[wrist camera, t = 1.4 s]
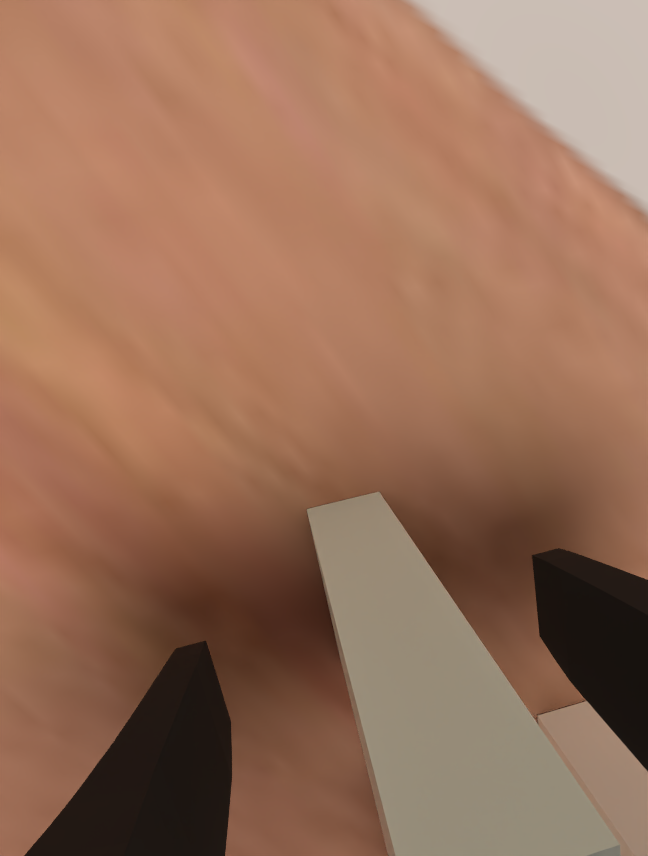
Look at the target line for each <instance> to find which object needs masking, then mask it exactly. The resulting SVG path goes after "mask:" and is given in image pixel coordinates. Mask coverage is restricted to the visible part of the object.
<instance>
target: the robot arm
mask: <svg viewBox="0 0 648 856" xmlns="http://www.w3.org/2000/svg"><path fill="white" fill-rule="evenodd" d="M532 559H533V570H534V580H535V591H536V601H537V612H538V623H539V633H540V637H541V639H542V640H543V642H544V643H545V645H546V646H547V648H548V649H549V651H550V652H551V654H552V656H553V657H554V659H555V660H556V662H557V663H558V664H559V666H560V667H561V669H562V670H563V672H564V673H565V674H566V676H567V677H568V679H569V680H570V681H571V683H572V684H573V685H574V686H575V687H576V689H577V690H578V691H579V692H580V693H581V695H582V696H583V697H584V698H585V699H586V700H587V702H588V703H589V704H590V705H591V706H592V708H593V709H594V710H595V711H596V712H597V713H598V715H599V716H600V717H601V718H602V719H603V720H604V722H605V723H606V724H607V725H608V726H609V727H610V728H611V730H612V731H613V732H614V733H615V734H616V735H617V737H618V738H619V739H620V740H621V741H622V742H623V744H624V745H625V746H626V747H627V748H628V749H629V750H630V752H631V753H632V754H633V755H634V756H635V757H636V759H637V760H638V761H639V762H640V763H641V764H642V766H643V767H644V768H645V769H646V770H647V771H648V580H647V579H644V578H641V577H638V576H636V575H633V574H630V573H628V572H625V571H622V570H619V569H617V568H614V567H611V566H609V565H606V564H603V563H601V562H598V561H595V560H592V559H590V558H587V557H584V556H581V555H578V554H576V553H572V552H569V551H566V550H563V549H559V548H558V549H555V550H551V551H547V552H543V553H539V554H535V555H532ZM231 782H232V745H231V720H230V717H229V714H228V711H227V707H226V704H225V701H224V698H223V694H222V691H221V688H220V685H219V681H218V678H217V675H216V672H215V669H214V665H213V662H212V659H211V656H210V652H209V649H208V646H207V643H206V641H203V642H199V643H196V644H192V645H188V646H184V647H180V648H176V649H175V651H174V652H173V654H172V655H171V657H170V658H169V659H168V661H167V662H166V664H165V665H164V667H163V669H162V670H161V672H160V673H159V675H158V676H157V678H156V679H155V681H154V682H153V684H152V685H151V687H150V689H149V690H148V692H147V693H146V695H145V696H144V698H143V699H142V701H141V702H140V704H139V705H138V707H137V708H136V710H135V711H134V713H133V714H132V716H131V717H130V719H129V720H128V722H127V723H126V725H125V726H124V727H123V729H122V730H121V732H120V733H119V735H118V736H117V738H116V739H115V741H114V742H113V744H112V745H111V746H110V748H109V749H108V750H107V752H106V753H105V754H104V756H103V757H102V759H101V760H100V761H99V763H98V764H97V765H96V767H95V768H94V769H93V771H92V772H91V773H90V775H89V776H88V778H87V779H86V780H85V782H84V783H83V784H82V786H81V787H80V788H79V790H78V791H77V792H76V794H75V795H74V796H73V798H72V799H71V800H70V801H69V803H68V804H67V805H66V806H65V808H64V809H63V810H62V811H61V813H60V814H59V815H58V816H57V818H56V819H55V820H54V821H53V823H52V824H51V825H50V826H49V827H48V829H47V830H46V831H45V832H44V833H43V834H42V836H41V837H40V838H39V839H38V840H37V841H36V843H35V844H34V845H33V846H32V847H31V849H30V850H29V851H28V852H27V853H26V854H25V856H225V849H226V839H227V828H228V817H229V805H230V794H231Z"/></svg>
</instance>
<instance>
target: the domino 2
mask: <svg viewBox="0 0 648 856" xmlns="http://www.w3.org/2000/svg"><path fill="white" fill-rule="evenodd" d="M537 719H538V725H539V727H540V728H541V730H542V731H543V733H544V734H545V735H546V737H547V738H548V740H549V741H550V743H551V744H552V746H553V747H554V749H555V750H556V752H557V753H558V755H559V756H560V757H561V759H562V760H563V762H564V763H565V765H566V766H567V768H568V769H569V771H570V772H571V774H572V775H573V776H574V778H575V779H576V781H577V782H578V784H579V785H580V787H581V788H582V790H583V791H584V793H585V794H586V796H587V797H588V798H589V800H590V801H591V803H592V804H593V806H594V807H595V809H596V810H597V812H598V813H599V815H600V816H601V818H602V819H603V820H604V822H605V823H606V825H607V826H608V828H609V829H610V831H611V832H612V834H613V835H614V837H615V838H616V840H617V841H618V842H619V844H620V854H621V856H648V771H647V770H646V769H645V768H644V767H643V766H642V764H641V763H640V762H639V761H638V760H637V759H636V757H635V756H634V755H633V754H632V753H631V752H630V750H629V749H628V748H627V747H626V746H625V745H624V744H623V742H622V741H621V740H620V739H619V738H618V737H617V735H616V734H615V733H614V732H613V731H612V730H611V728H610V727H609V726H608V725H607V724H606V723H605V722H604V720H603V719H602V718H601V717H600V716H599V715H598V713H597V712H596V711H595V710H594V709H593V708H592V706H591V705H590V704H589V703H588V702H587V701H585V702H582V703H578V704H575V705H571V706H568V707H564V708H561V709H558V710H554V711H551V712H547V713H544V714H541V715H537Z"/></svg>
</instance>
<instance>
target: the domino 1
mask: <svg viewBox="0 0 648 856" xmlns="http://www.w3.org/2000/svg"><path fill="white" fill-rule="evenodd" d="M306 510H307V514H308V518H309V523H310V527H311V532H312V536H313V540H314V545H315V549H316V554H317V558H318V563H319V567H320V571H321V576H322V580H323V585H324V589H325V594H326V598H327V602H328V607H329V611H330V616H331V620H332V625H333V629H334V633H335V638H336V642H337V647H338V651H339V656H340V660H341V664H342V668H343V672H344V676H345V681H346V685H347V689H348V693H349V697H350V701H351V705H352V709H353V713H354V717H355V722H356V726H357V730H358V734H359V738H360V742H361V746H362V750H363V754H364V759H365V763H366V767H367V771H368V775H369V779H370V783H371V787H372V791H373V795H374V800H375V804H376V808H377V812H378V816H379V820H380V824H381V828H382V832H383V836H384V841H385V845H386V849H387V853H388V856H621V854H620V844H619V842H618V841H617V840H616V838H615V837H614V835H613V834H612V832H611V831H610V829H609V828H608V826H607V825H606V823H605V822H604V820H603V819H602V818H601V816H600V815H599V813H598V812H597V810H596V809H595V807H594V806H593V804H592V803H591V801H590V800H589V798H588V797H587V796H586V794H585V793H584V791H583V790H582V788H581V787H580V785H579V784H578V782H577V781H576V779H575V778H574V776H573V775H572V774H571V772H570V771H569V769H568V768H567V766H566V765H565V763H564V762H563V760H562V759H561V757H560V756H559V755H558V753H557V752H556V750H555V749H554V747H553V746H552V744H551V743H550V741H549V740H548V738H547V737H546V735H545V734H544V733H543V731H542V730H541V728H540V727H539V725H538V724H537V722H536V721H535V719H534V718H533V716H532V715H531V713H530V712H529V711H528V709H527V708H526V706H525V705H524V703H523V702H522V700H521V699H520V697H519V696H518V694H517V693H516V691H515V690H514V689H513V687H512V686H511V684H510V683H509V681H508V680H507V678H506V677H505V675H504V674H503V672H502V671H501V669H500V668H499V667H498V665H497V664H496V662H495V661H494V659H493V658H492V656H491V655H490V653H489V652H488V650H487V649H486V648H485V646H484V645H483V643H482V642H481V640H480V639H479V637H478V636H477V634H476V633H475V631H474V630H473V628H472V627H471V626H470V624H469V623H468V621H467V620H466V618H465V617H464V615H463V614H462V612H461V611H460V609H459V608H458V606H457V605H456V604H455V602H454V601H453V599H452V598H451V596H450V595H449V593H448V592H447V590H446V589H445V587H444V586H443V584H442V583H441V582H440V580H439V579H438V577H437V576H436V574H435V573H434V571H433V570H432V568H431V567H430V565H429V564H428V563H427V561H426V560H425V558H424V557H423V555H422V554H421V552H420V551H419V549H418V548H417V546H416V545H415V543H414V542H413V541H412V539H411V538H410V536H409V535H408V533H407V532H406V530H405V529H404V527H403V526H402V524H401V523H400V521H399V520H398V519H397V517H396V516H395V514H394V513H393V511H392V510H391V508H390V507H389V505H388V504H387V502H386V501H385V499H384V498H383V497H382V495H381V494H380V492H375V493H371V494H367V495H362V496H358V497H354V498H350V499H346V500H342V501H338V502H334V503H329V504H325V505H321V506H317V507H313V508H309V509H306Z"/></svg>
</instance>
